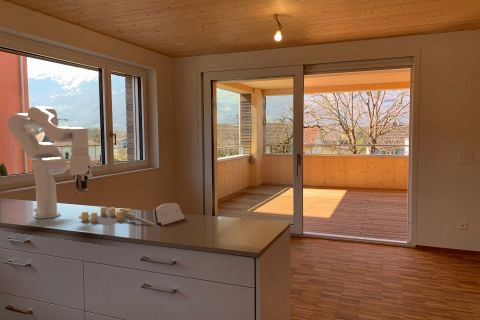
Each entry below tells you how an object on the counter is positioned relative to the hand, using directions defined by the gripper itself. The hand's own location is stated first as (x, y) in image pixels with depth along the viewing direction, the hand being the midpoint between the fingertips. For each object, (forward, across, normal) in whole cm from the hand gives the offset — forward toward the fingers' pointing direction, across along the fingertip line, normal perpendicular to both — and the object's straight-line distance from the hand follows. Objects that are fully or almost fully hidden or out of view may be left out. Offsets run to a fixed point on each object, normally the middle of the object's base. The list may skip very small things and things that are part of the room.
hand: (81, 188), depth 182 cm
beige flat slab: (+17, +42, +13) cm, 47 cm away
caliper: (+17, +31, +3) cm, 36 cm away
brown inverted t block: (+3, 0, 0) cm, 3 cm away
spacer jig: (+17, +12, +4) cm, 21 cm away
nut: (+17, -3, +5) cm, 18 cm away
